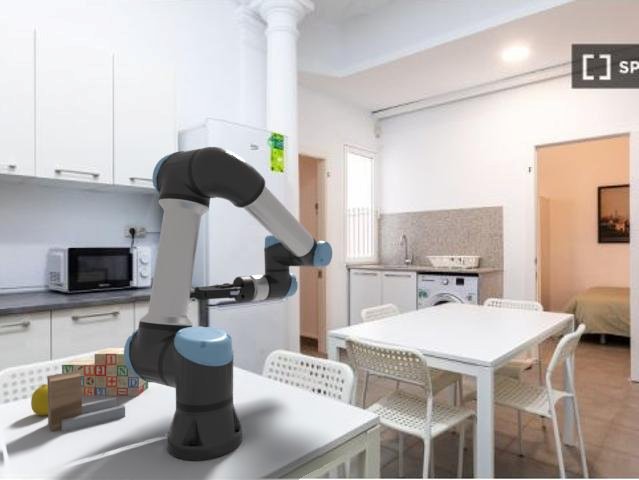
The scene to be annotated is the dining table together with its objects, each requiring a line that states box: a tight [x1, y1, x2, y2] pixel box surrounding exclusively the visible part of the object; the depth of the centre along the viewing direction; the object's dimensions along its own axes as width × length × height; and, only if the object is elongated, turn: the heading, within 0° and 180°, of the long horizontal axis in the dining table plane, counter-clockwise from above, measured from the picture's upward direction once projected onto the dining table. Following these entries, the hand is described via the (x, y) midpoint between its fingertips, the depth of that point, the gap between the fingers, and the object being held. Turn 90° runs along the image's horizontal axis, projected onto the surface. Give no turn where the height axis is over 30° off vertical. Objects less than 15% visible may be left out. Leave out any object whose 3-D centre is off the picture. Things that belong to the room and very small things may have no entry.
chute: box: [60, 396, 126, 433], centre depth 103 cm, size 9×13×3 cm
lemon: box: [30, 383, 48, 417], centre depth 106 cm, size 6×6×8 cm
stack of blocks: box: [61, 347, 149, 397], centre depth 121 cm, size 21×6×12 cm, turn 87°
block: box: [46, 371, 83, 432], centre depth 100 cm, size 5×6×11 cm
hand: (169, 296), depth 113 cm, fingers closed
